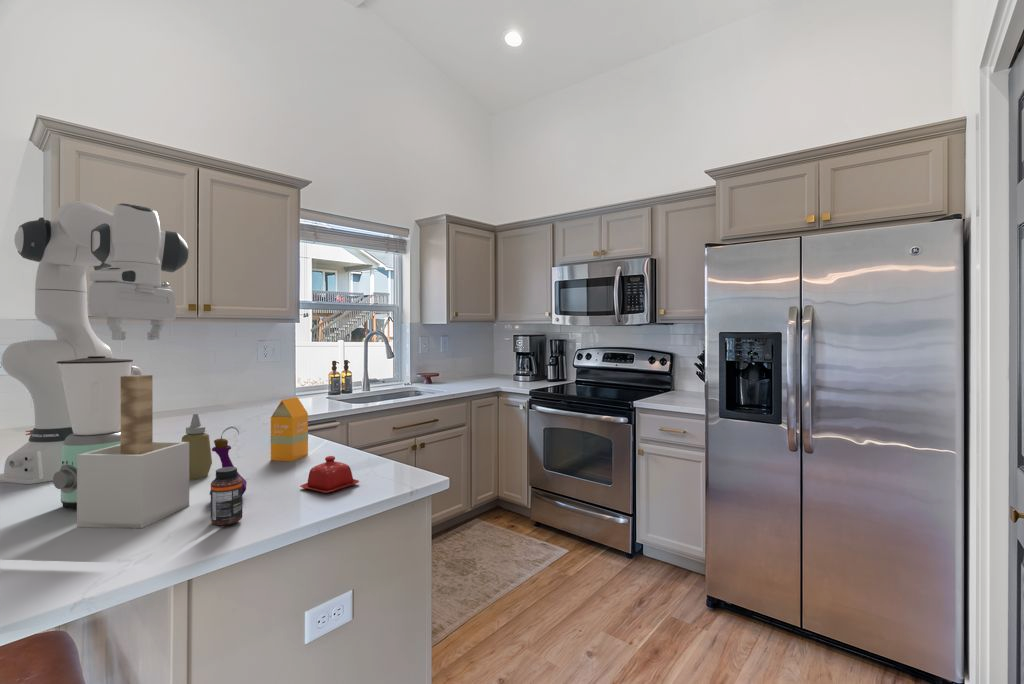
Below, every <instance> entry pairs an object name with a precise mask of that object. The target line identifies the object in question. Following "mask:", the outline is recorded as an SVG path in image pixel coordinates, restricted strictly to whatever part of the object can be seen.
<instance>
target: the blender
mask: <svg viewBox="0 0 1024 684" xmlns="http://www.w3.org/2000/svg"><path fill="white" fill-rule="evenodd" d="M105 357H106V356H88V358H81V359H75V360H66V361H58V362H57V364H58V365H59V368H60V370H61V376H62V382H63V387H64V392H65V397H66V402H67V407H68V412H69V416H70V421H71V426H72V430H73V434H70V435H69V436H68V437H66V439H65V441H64V442H63V444H62V449H61V468H60V471H58V472H56V473H55V474H54V476H53V481H52V483H53V485H54V488H56V489H57V490H60V502H61V504H62V508H77V455H79V454H83V453H87V452H91V451H95V450H99V449H103V448H107V447H111V446H115V445H119V444H121V376H131V375H144V372H143V370H142V368H140V367H138V366H135V365H133V362H134V360H133V359H126V358H124V359H123V358H114V357H113V358H105Z"/></svg>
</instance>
